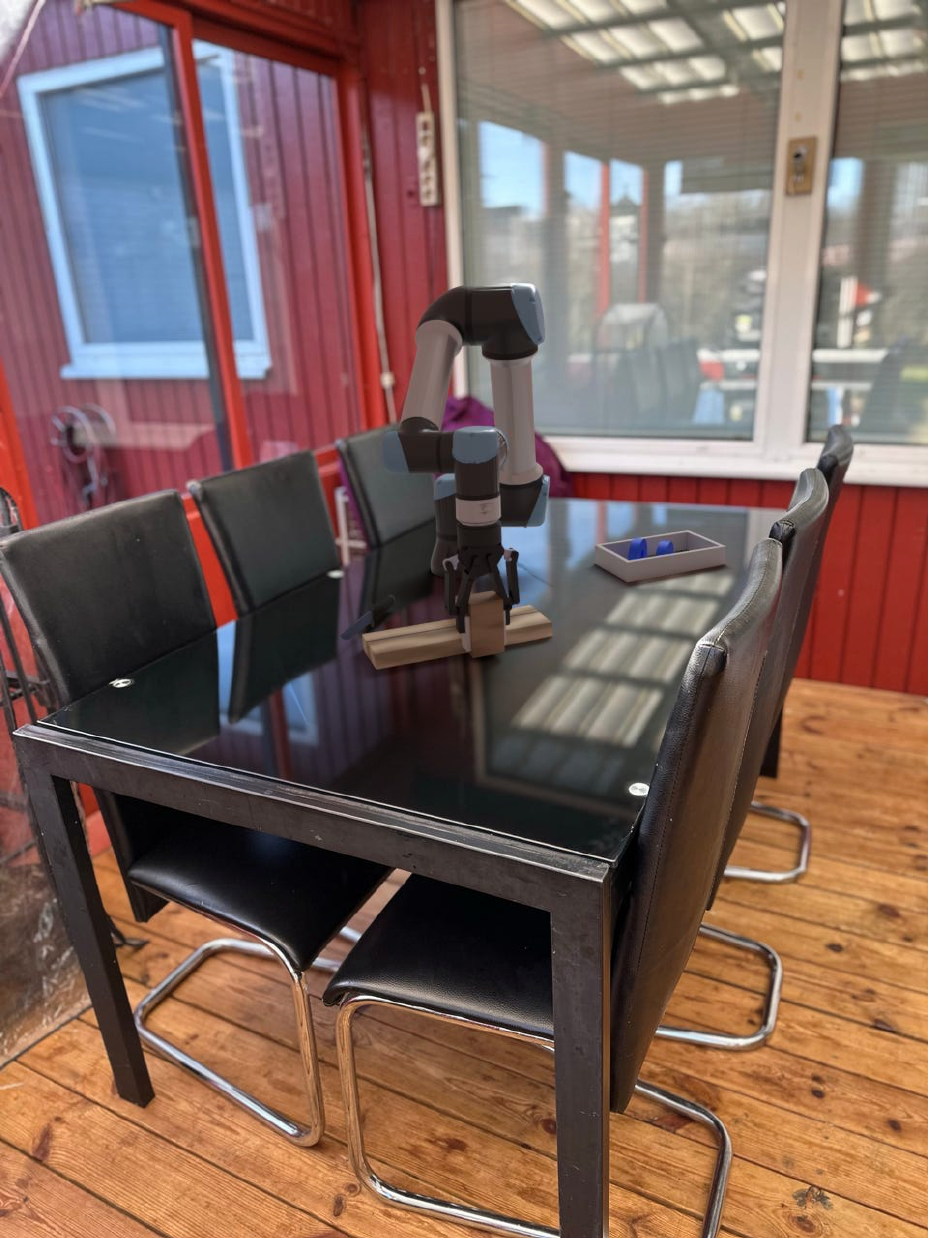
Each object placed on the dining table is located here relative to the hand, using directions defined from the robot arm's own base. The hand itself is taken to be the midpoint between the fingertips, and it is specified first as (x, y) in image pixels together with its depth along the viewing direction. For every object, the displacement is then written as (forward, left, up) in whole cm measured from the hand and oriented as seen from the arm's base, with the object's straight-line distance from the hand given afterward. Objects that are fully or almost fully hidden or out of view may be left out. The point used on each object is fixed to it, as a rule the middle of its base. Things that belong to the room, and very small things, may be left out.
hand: (484, 645), depth 159 cm
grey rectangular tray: (-31, +55, -2) cm, 63 cm away
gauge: (0, 0, -1) cm, 1 cm away
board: (-8, -2, -2) cm, 9 cm away
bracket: (-34, +56, -5) cm, 66 cm away
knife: (-21, -16, -2) cm, 27 cm away
